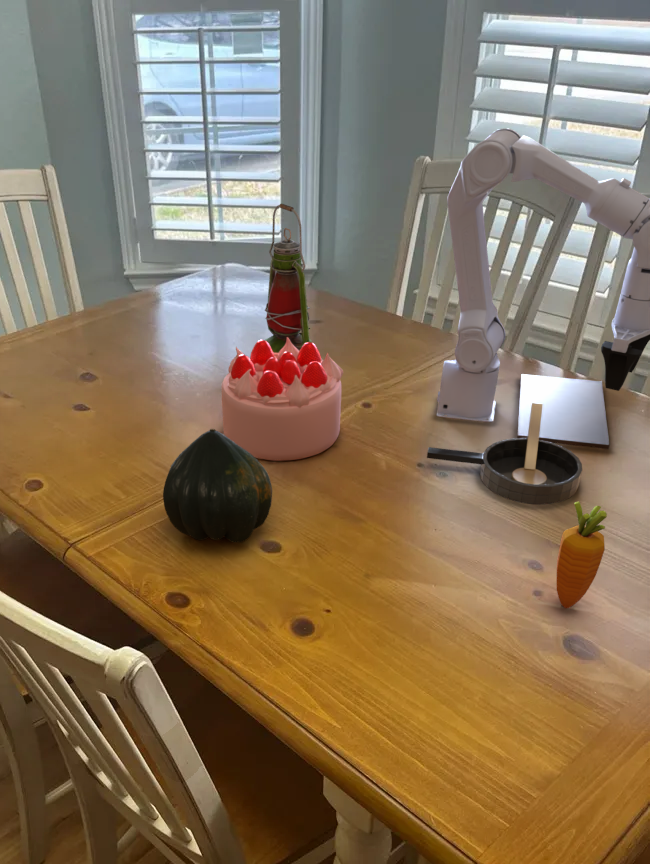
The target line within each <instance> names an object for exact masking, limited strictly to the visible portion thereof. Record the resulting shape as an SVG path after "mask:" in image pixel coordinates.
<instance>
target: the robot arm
mask: <svg viewBox="0 0 650 864" xmlns="http://www.w3.org/2000/svg"><path fill="white" fill-rule="evenodd" d="M459 166H460V167H459V169H458V172H457V174H456V176H455V179H454V181H453V183H452V185H451V188H450V190H449V193H448V195H447V198H446V199H447V200H446V205H447V212H448V213H447V214H448V221H449V227H450V228H449V229H450V236H451V244H452V245H451V246H452V252H453V260H454V269H455V276H456V283H457V293H458V302H459V308H460V314H459V321H458V326H457V336H458V338H457V342H456V346H455V348H454V358H455V359H451V360H444V361H443V365H442V370H441V377H440V385H439V386H440V387H439V391H438V392H437V399H436V402H438V403H437V411H436V416H437V417H439V418H449V419H458V420H466V421H475V422H477V421H478V422H486V423H493V422H494V421H495V410H496V404H497V403H496V401H495V396H496V390H497V384H498V378H499V372H500V365H501V360H500V358H499V356H498V353H497V352H498V351H499V349H500V348H501V347H502V346H503V345H504V343H505V340H506V335H507V333H506V329H505V327H504V325H503V323H502V322H501V320H500V318H499V313H498V308H497V307H496V306H495V305H496V304H495V303H494V301H493V292H492V283H491V273H490V265H489V254H488V243H487V234H486V225H485V215H484V205H483V204H484V203H483V202H484V201H485V200H486V198H487V197H488V196H489V195H490V194H491V192H492V191H493V190H494V188H496V187H497V186H498V185H500V184H502V183H503V182H504V181H505V180H506V179H507V178H508V176H509V174H512V177H511V183H517V182H521V181H529V180H537V181H539V182H542V183H543V184H545V185H547V186H549V187H551V188H553V189H555V190H556V191H557V190H558V191H559V192H561V193H563V194H565V195H567V196H569V197H571V198H573V199H575V200H577V201H578V202H581V203H583V204H584V206H585V211H586V216H587V217H588V218H589V219H591V220H593V221H594V222H596V223H598V224H600V225H601V226H604V227H605V228H607V229H609V230H610V231H612V232H613V233H615V234H617V235H618V236H621V237H622V238H624V239H628V240H632V244H633V245H632V246H633V249H632V253H631V258H630V259H629V260H628V263H627V265H626V270H625V274H624V277H623V282H622V286H621V290H620V293H619V298H618V301H617V305H616V306H617V307H616V310H615V315H614V318H613V319H612V321H611V330H612V333H613V337H614V338H613V341H608V340H604V341H603V343H602V344H601V347H600V352H601V354H602V357H603V361H604V362H603V363H604V387H605V389H608V390H611V391H612V390H613V391H617V392H619V391H620V390H621V389H622V387H623V385H624V383H625V382H626V380H627V377H628V375H629V373H633V371H634V370H635V369H636V367H637V365H638V363H639V360H640V359H641V356H642V354H643V352H644V351H645V348H646V347H647V345H648V343H649V342H650V198H649V197H648V196H646V195H644V193H641V192H639V191H637V190H635V189H634V188H632V187H631V185H632V182H631V181H630V180H628V179H627V178H626V177H622V179H621V180H618V179H616V178H614V177H612V178H608V179H604V180H597V178H594V177H593V176H591V175H590V174H588V173H587V172H585V171H584V170H582V169H580V167H577V166H576V165H574V164H572V163H571V162H570V161H568V160H566V159H565V158H563V157H562V156H560V155H558V154H557V153H556V152H554V151H552V150H551V149H549V148H547V147H546V146H545V145H543V144H541V143H540V142H539V141H537V140H535V139H533V138H532V137H529V136H527V135H522V136H521V134H520V133H518V131H516V130H514V129H512V128H507V127H504V128H498V129H496V130H494V131H492V132H491V133H490V134H489V135H487V137H486V138H485V139H484V140H481V141H479V142H478V143H477V144H475V145H474V146H473V148H471V150H470V151H469V152H468V153H467V154H466V155H465V156H464V158H463V159H462V160H461V162H460V165H459Z"/></svg>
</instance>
